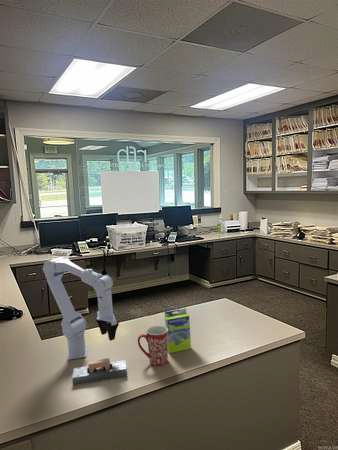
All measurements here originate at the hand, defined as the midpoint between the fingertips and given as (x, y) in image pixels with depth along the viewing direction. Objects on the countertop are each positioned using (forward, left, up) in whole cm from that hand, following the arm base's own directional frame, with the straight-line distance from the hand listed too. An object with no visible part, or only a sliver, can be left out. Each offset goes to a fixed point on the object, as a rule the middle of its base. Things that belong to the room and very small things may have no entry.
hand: (108, 336), depth 138 cm
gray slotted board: (+11, -4, -10) cm, 16 cm away
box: (0, +30, -11) cm, 32 cm away
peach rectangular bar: (+11, -4, -10) cm, 16 cm away
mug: (+7, +18, -11) cm, 22 cm away
